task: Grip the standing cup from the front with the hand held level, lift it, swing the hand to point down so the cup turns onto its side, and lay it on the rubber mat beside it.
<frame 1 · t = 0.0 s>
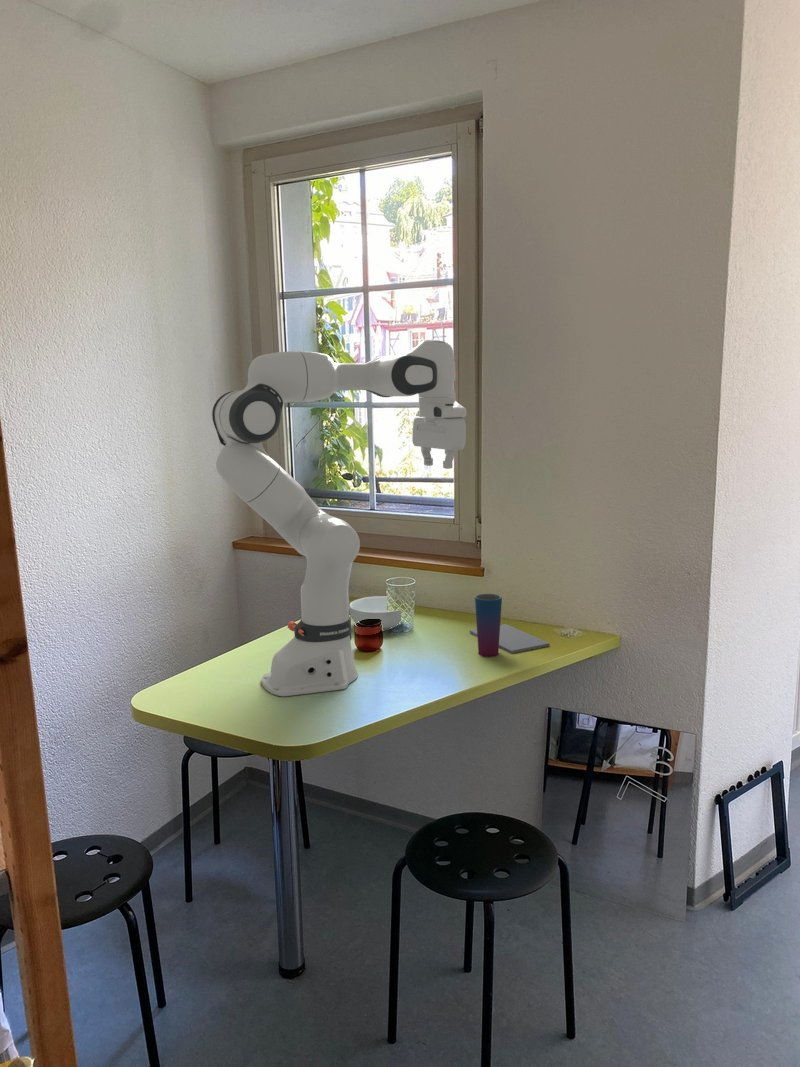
hand: (437, 467, 194), 48 cm above the table, tool pointing down, fingers open, 8 cm apart
cup: (488, 654, 204), on the table
cereal bowl: (379, 628, 228), on the table
mat: (508, 639, 215), on the table
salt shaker: (338, 617, 240), on the table
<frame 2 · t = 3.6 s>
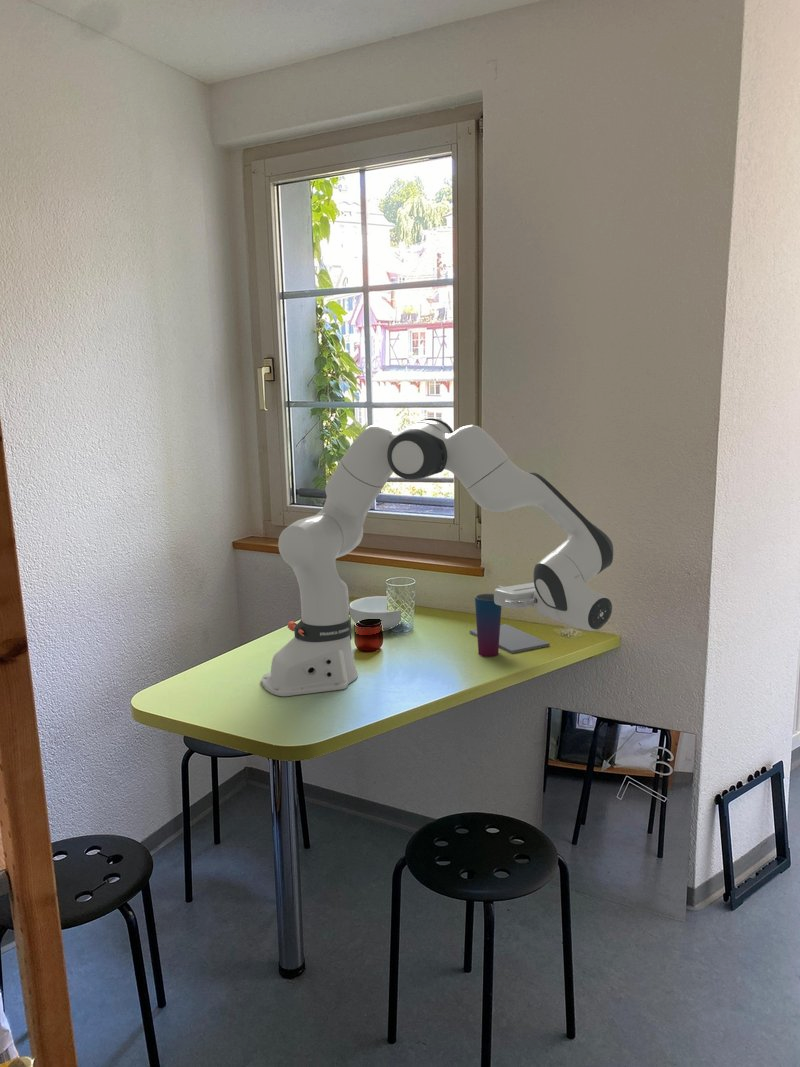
hand: (516, 586, 190), 20 cm above the table, tool horizontal, fingers open, 8 cm apart
nothing on the table moved.
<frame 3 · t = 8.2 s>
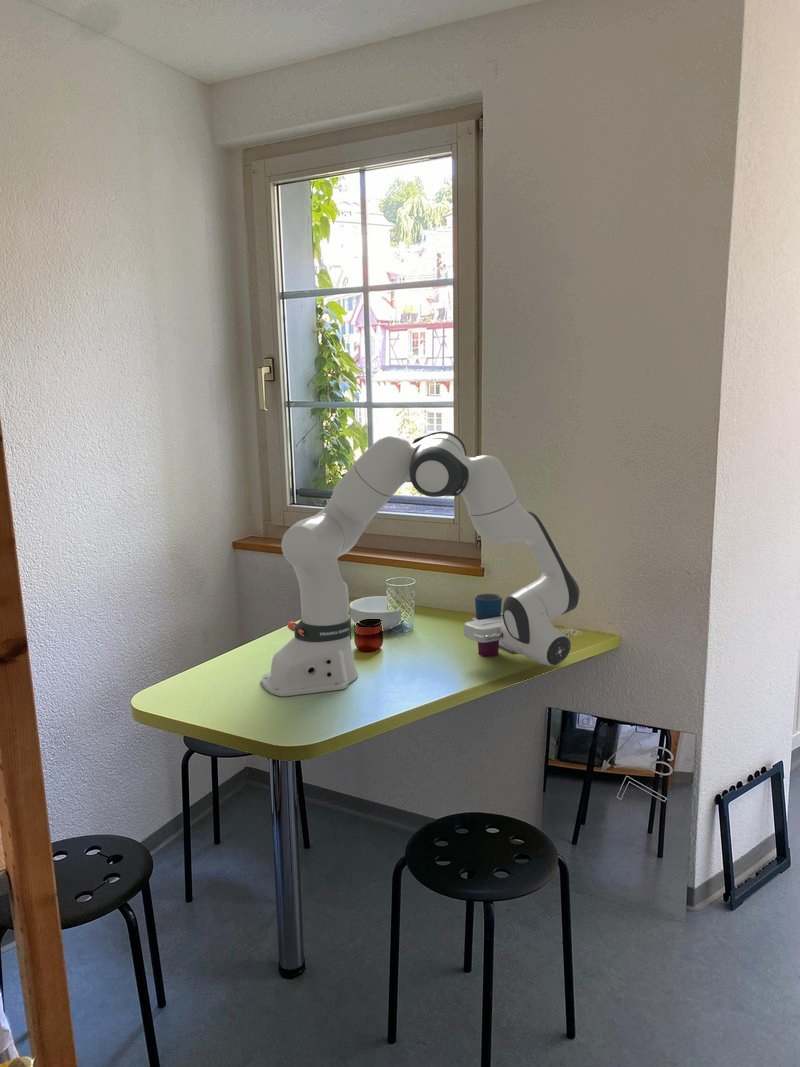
hand: (486, 618, 203), 9 cm above the table, tool horizontal, fingers closed on cup, 6 cm apart
cup: (488, 654, 204), on the table, touching gripper
everything else where it was.
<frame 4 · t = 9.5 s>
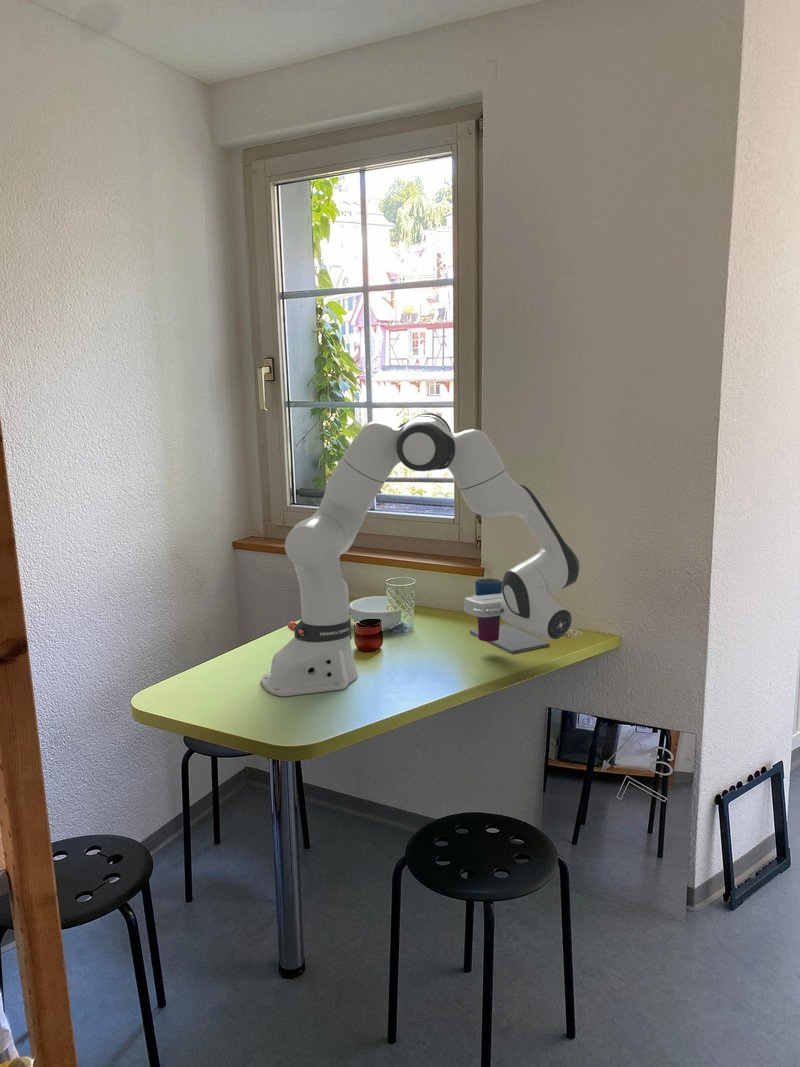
hand: (486, 595, 201), 15 cm above the table, tool horizontal, fingers closed on cup, 6 cm apart
cup: (488, 639, 202), point 4 cm above the table, touching gripper
everything else where it was.
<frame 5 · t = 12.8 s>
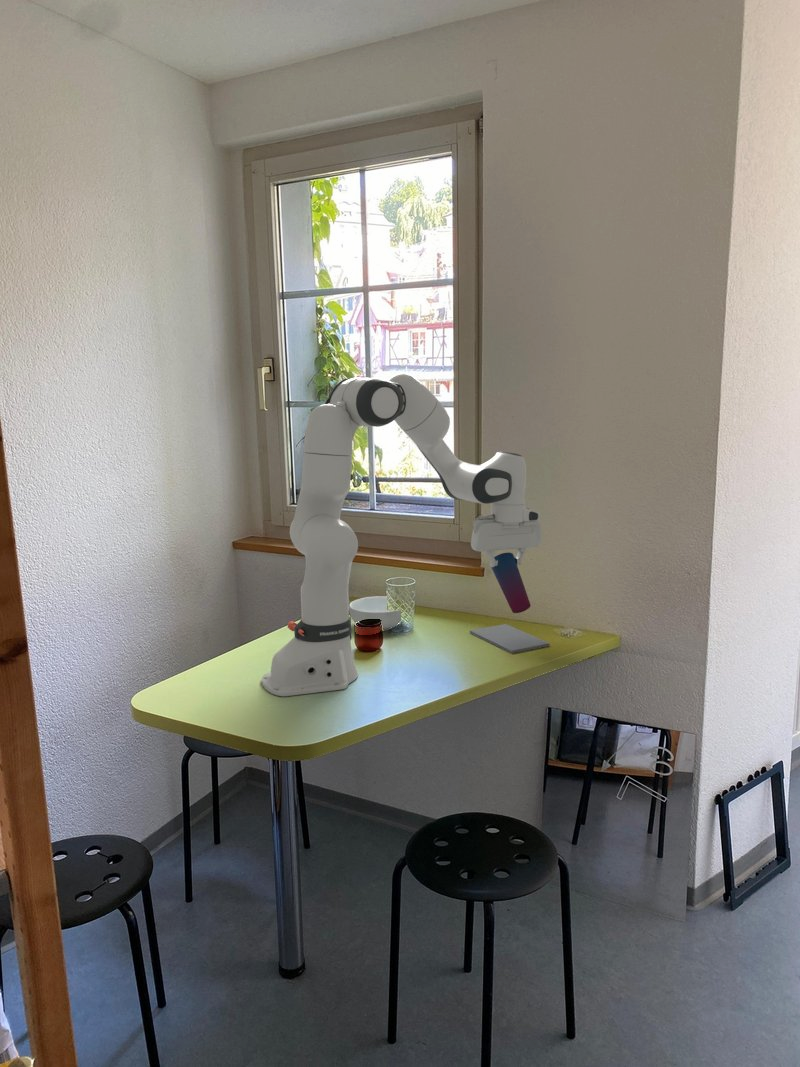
hand: (505, 565, 211), 20 cm above the table, tool pointing down, fingers closed on cup, 6 cm apart
cup: (521, 609, 206), point 10 cm above the table, touching gripper
everything else where it was.
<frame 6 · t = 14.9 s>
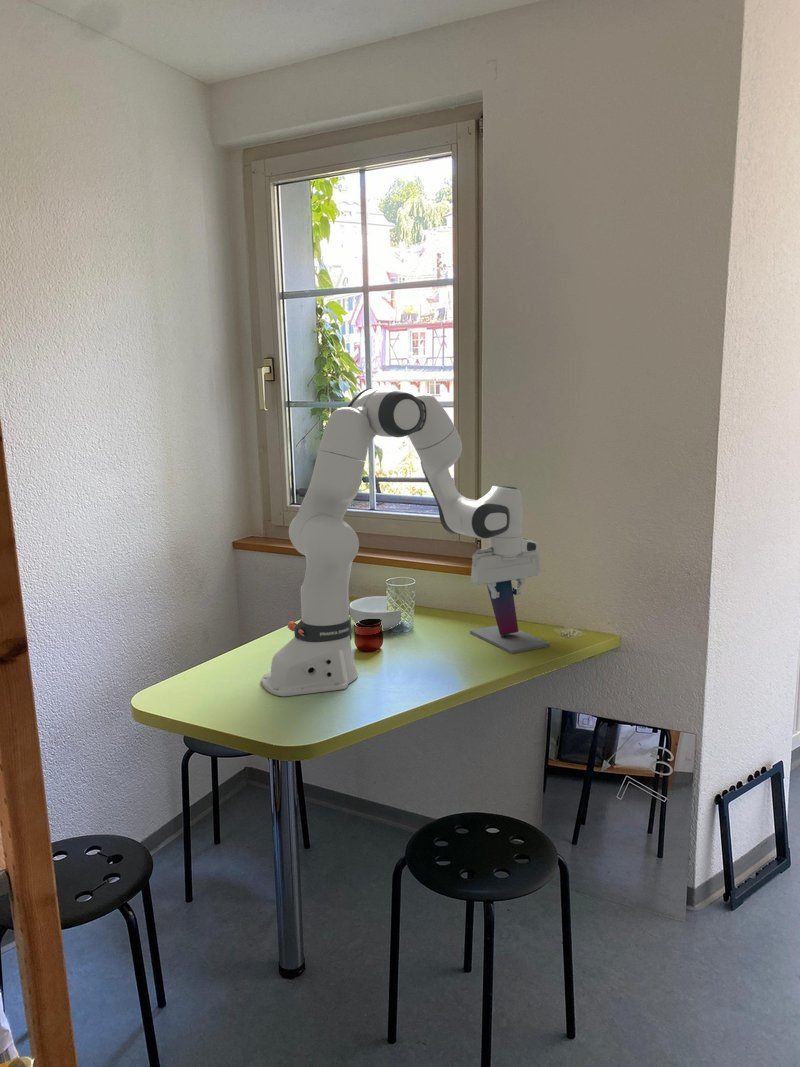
hand: (506, 596, 214), 12 cm above the table, tool pointing down, fingers open, 5 cm apart
cup: (509, 634, 214), point 2 cm above the table, touching mat
everything else where it was.
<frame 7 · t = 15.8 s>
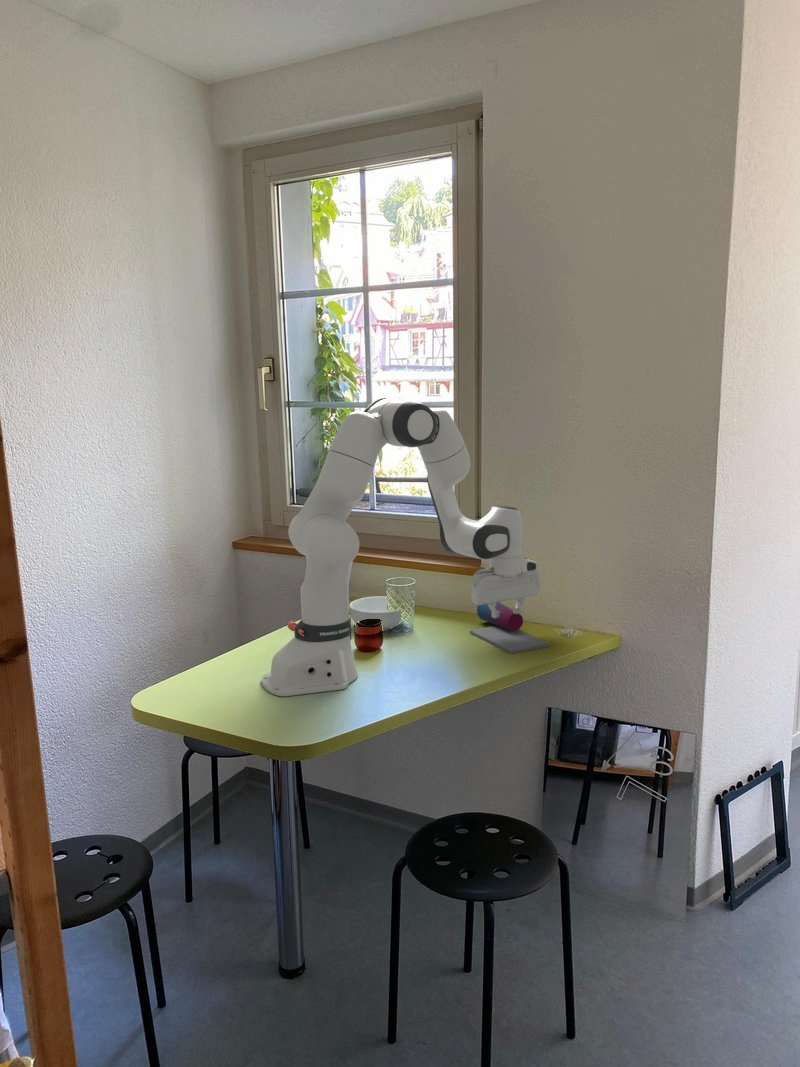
hand: (506, 615, 215), 6 cm above the table, tool pointing down, fingers open, 5 cm apart
cup: (515, 622, 217), point 4 cm above the table, touching gripper, mat
everything else where it was.
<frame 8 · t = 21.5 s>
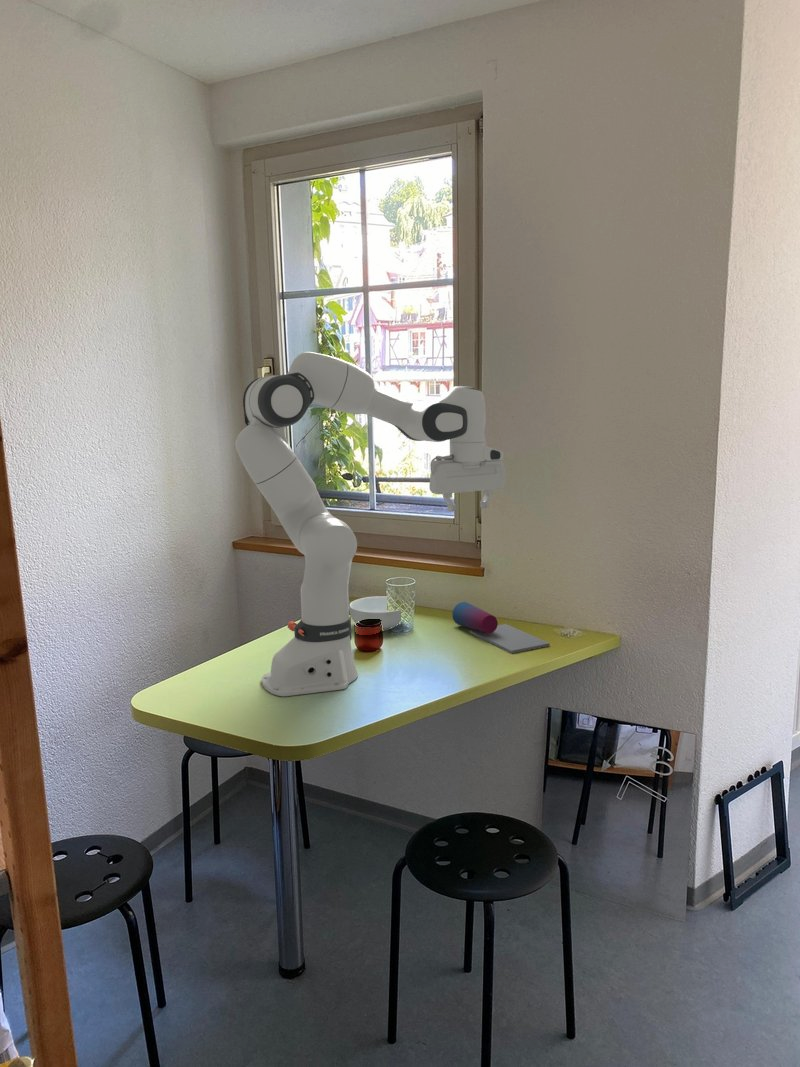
hand: (468, 509, 198), 37 cm above the table, tool pointing down, fingers open, 8 cm apart
cup: (490, 624, 214), point 4 cm above the table, touching mat
everything else where it was.
at the end: cup tilted 93°; cup touching mat, table; the gripper is holding nothing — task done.
